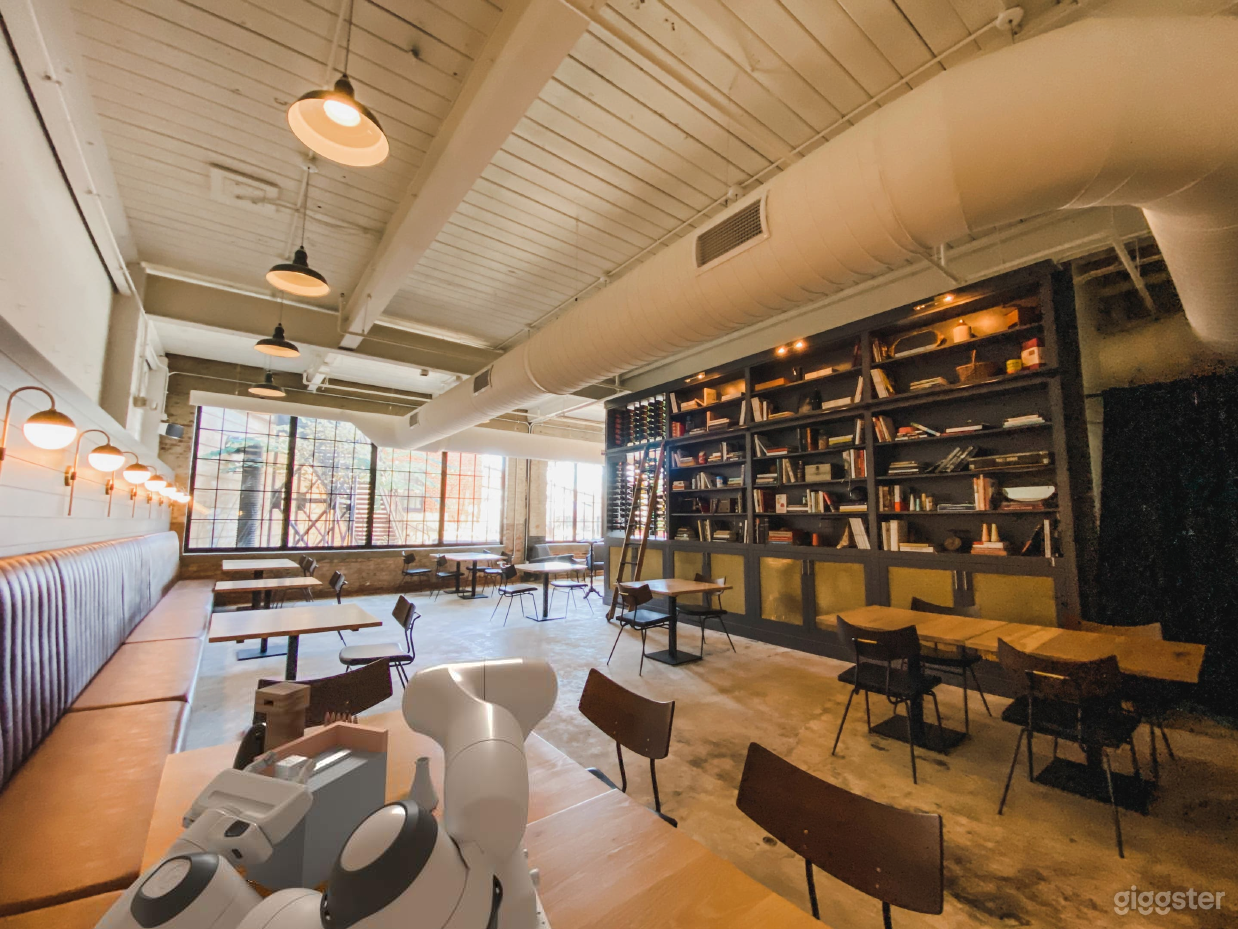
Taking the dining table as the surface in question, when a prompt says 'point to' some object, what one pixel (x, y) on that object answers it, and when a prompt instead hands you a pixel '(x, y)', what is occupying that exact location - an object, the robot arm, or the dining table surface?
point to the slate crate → (325, 820)
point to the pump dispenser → (250, 746)
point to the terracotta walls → (331, 742)
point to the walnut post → (282, 712)
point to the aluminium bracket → (291, 764)
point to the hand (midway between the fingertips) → (293, 757)
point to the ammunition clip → (339, 719)
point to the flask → (423, 785)
